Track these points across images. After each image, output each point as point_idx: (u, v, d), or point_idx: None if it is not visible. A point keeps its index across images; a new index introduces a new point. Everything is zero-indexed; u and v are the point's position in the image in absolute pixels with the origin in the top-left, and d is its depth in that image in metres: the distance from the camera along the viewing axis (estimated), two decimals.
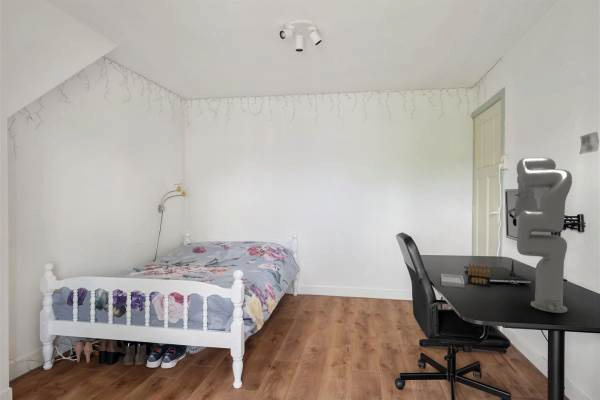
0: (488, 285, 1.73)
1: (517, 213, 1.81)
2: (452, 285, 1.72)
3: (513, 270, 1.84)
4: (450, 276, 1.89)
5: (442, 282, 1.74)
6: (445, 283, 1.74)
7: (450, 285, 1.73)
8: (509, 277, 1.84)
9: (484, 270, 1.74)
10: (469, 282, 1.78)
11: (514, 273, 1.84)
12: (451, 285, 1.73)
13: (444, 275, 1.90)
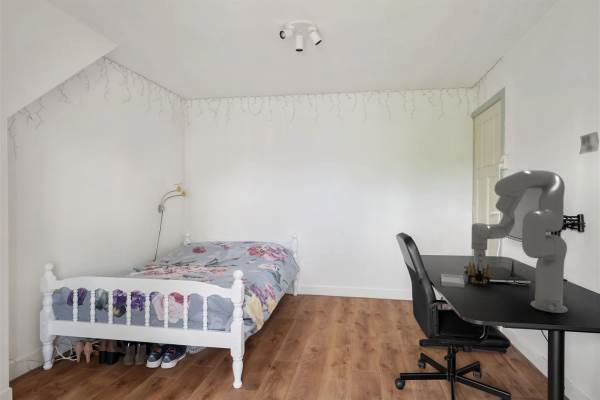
0: (488, 285, 1.73)
1: (485, 266, 1.71)
2: (452, 285, 1.72)
3: (513, 270, 1.83)
4: (450, 276, 1.89)
5: (442, 282, 1.74)
6: (445, 283, 1.74)
7: (450, 285, 1.73)
8: (509, 277, 1.83)
9: (484, 270, 1.74)
10: (469, 282, 1.78)
11: (514, 273, 1.83)
12: (451, 285, 1.73)
13: (444, 275, 1.90)
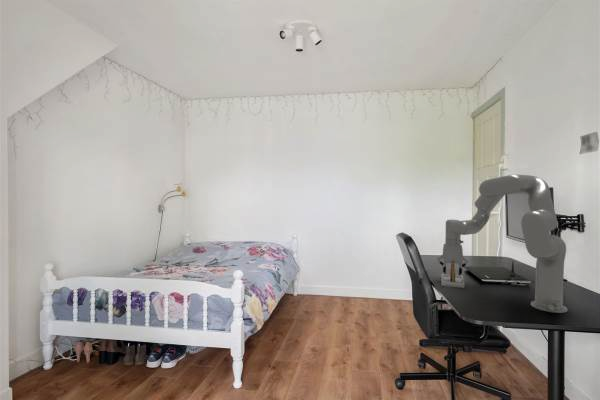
0: None
1: None
2: (452, 285, 1.72)
3: (513, 271, 1.82)
4: (450, 276, 1.89)
5: (442, 282, 1.74)
6: (445, 283, 1.74)
7: (450, 285, 1.73)
8: (509, 278, 1.82)
9: None
10: (454, 281, 1.76)
11: (514, 274, 1.82)
12: (451, 285, 1.73)
13: (444, 275, 1.90)
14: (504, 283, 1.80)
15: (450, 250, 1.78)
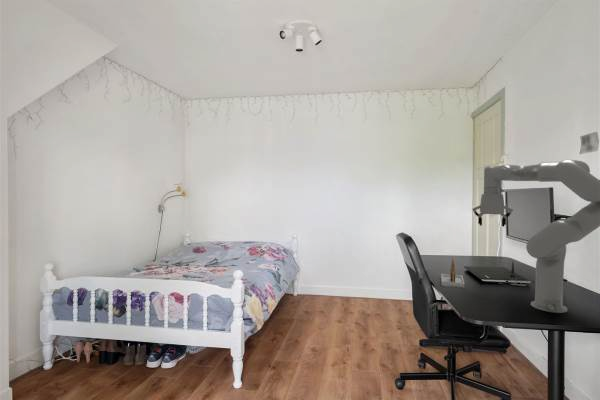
0: None
1: None
2: (452, 285, 1.72)
3: (513, 271, 1.81)
4: (450, 276, 1.89)
5: (442, 282, 1.74)
6: (445, 283, 1.74)
7: (450, 285, 1.73)
8: (509, 278, 1.81)
9: None
10: (454, 281, 1.76)
11: (514, 274, 1.81)
12: (451, 285, 1.73)
13: (444, 275, 1.90)
14: None
15: (489, 200, 1.60)
